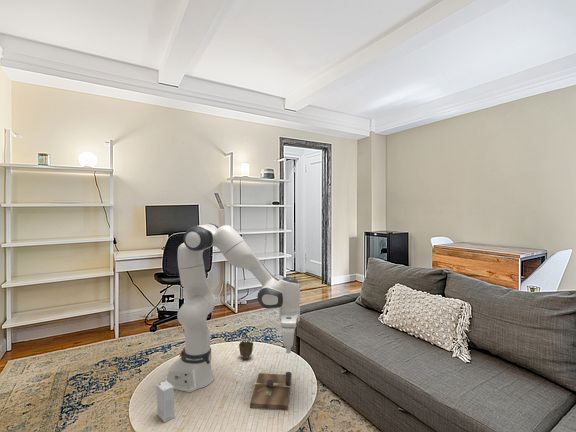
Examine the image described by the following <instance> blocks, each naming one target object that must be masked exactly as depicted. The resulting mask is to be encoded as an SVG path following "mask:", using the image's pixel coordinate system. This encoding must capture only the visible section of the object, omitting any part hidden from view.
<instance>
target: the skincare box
mask: <svg viewBox="0 0 576 432" xmlns="http://www.w3.org/2000/svg"><path fill="white" fill-rule="evenodd" d="M156 405H157V408H156V409H157V416H158V417H159V418H160V419H161V420H162V422H163V423H167V422H169V421H170V420H173V419H174V418H175V417H176V416H175V389H174V386H172V385H171V384H170V383H169V382H168V381H164V382H162V381H161V382H160V383H157V384H156Z"/></svg>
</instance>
